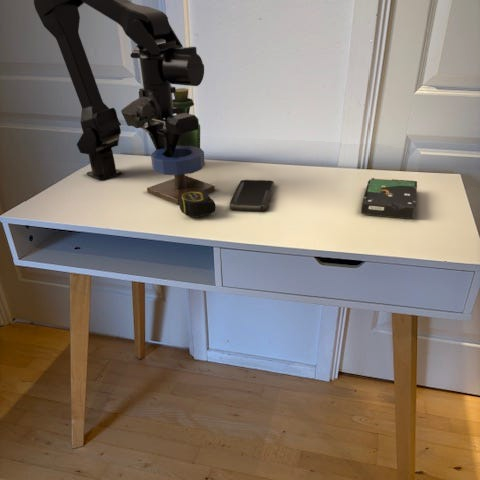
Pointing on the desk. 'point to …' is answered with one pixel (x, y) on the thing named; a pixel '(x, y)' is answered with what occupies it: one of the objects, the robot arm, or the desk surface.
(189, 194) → the tape measure
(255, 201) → the phone
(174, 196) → the post
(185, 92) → the potion bottle
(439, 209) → the desk surface
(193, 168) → the ring
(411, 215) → the disk drive
